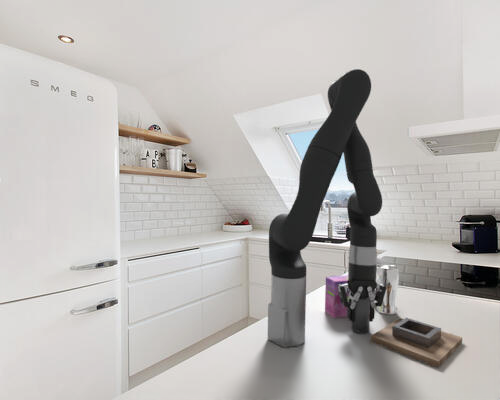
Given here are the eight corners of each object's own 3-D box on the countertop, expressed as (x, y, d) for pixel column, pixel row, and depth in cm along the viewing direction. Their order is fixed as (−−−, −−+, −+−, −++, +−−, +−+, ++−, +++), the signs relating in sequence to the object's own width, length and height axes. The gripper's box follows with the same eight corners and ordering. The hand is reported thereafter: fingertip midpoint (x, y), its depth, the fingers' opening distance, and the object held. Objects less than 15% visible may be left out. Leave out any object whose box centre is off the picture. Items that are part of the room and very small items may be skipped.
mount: (438, 368, 68) (439, 350, 68) (370, 341, 80) (371, 326, 80) (462, 343, 80) (462, 328, 80) (399, 323, 92) (400, 309, 92)
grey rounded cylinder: (364, 334, 83) (365, 301, 83) (348, 328, 87) (349, 296, 87) (372, 329, 86) (373, 298, 86) (357, 323, 90) (357, 293, 90)
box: (333, 318, 95) (334, 281, 95) (324, 311, 100) (325, 276, 100) (362, 315, 98) (363, 279, 97) (352, 309, 103) (352, 274, 103)
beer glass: (378, 305, 106) (379, 263, 106) (399, 310, 102) (401, 266, 102) (371, 311, 101) (373, 266, 101) (394, 317, 97) (395, 270, 96)
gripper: (343, 264, 82) (341, 327, 82) (393, 264, 83) (391, 325, 84) (333, 258, 89) (331, 315, 90) (379, 258, 91) (377, 315, 91)
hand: (360, 320), depth 87 cm, fingers closed on grey rounded cylinder, 4 cm apart
